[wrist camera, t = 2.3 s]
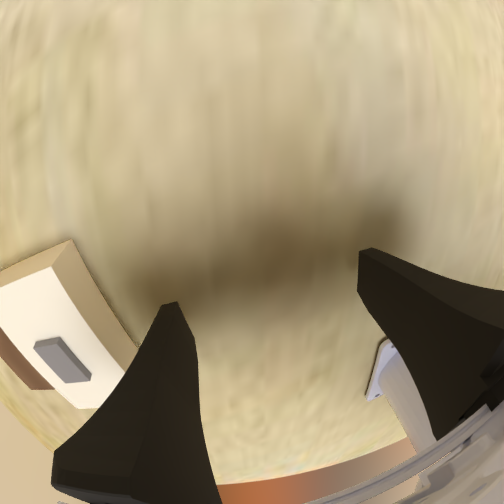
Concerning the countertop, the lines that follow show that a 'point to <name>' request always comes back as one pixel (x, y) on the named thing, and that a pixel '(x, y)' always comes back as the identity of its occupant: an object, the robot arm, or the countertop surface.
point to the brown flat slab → (21, 365)
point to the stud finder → (64, 325)
